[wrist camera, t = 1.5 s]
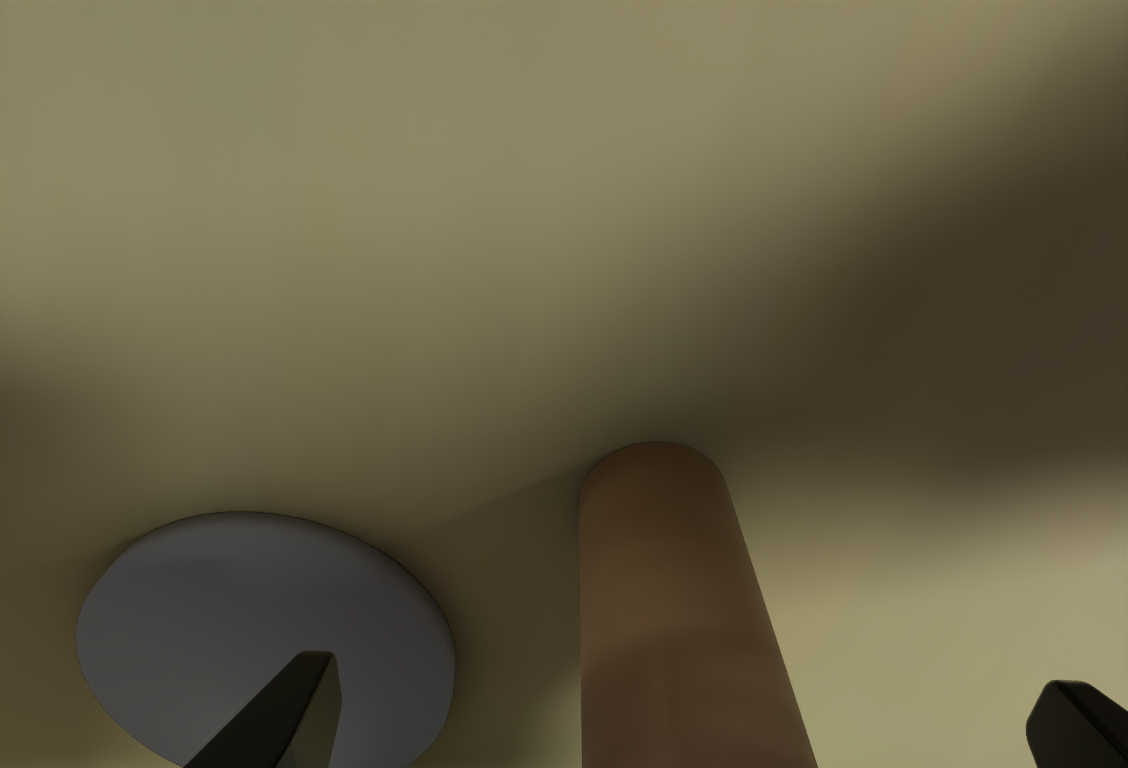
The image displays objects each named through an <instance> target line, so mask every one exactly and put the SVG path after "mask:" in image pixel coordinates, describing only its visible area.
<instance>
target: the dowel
mask: <svg viewBox="0 0 1128 768" xmlns="http://www.w3.org/2000/svg"><path fill="white" fill-rule="evenodd" d="M578 517H579V585H580V653H581V720H582V768H818V766H817V763H816V760H815V757H814V754H813V751H812V747H811V744H810V741H809V738H808V735H807V732H806V729H805V726H804V723H803V720H802V717H801V713H800V710H799V707H798V704H797V701H796V698H795V695H794V692H793V689H792V686H791V683H790V680H789V676H788V673H787V670H786V667H785V664H784V661H783V658H782V655H781V652H780V649H779V646H778V642H777V639H776V636H775V633H774V630H773V627H772V624H771V621H770V618H769V615H768V612H767V609H766V605H765V602H764V599H763V596H762V593H761V590H760V587H759V584H758V581H757V578H756V575H755V571H754V568H753V565H752V562H751V559H750V556H749V553H748V550H747V547H746V544H745V541H744V538H743V534H742V531H741V528H740V525H739V522H738V519H737V516H736V513H735V510H734V507H733V504H732V501H731V497H730V494H729V491H728V488H727V485H726V483H725V480H724V478H723V476H722V474H721V473H720V471H719V469H718V468H717V467H716V466H715V465H714V464H713V463H712V462H711V461H710V460H709V459H708V458H707V457H705V456H704V455H702V454H701V453H699V452H697V451H695V450H693V449H691V448H689V447H686V446H683V445H679V444H674V443H668V442H646V443H639V444H635V445H631V446H628V447H625V448H623V449H620V450H618V451H616V452H614V453H612V454H611V455H609V456H607V457H606V458H604V459H603V460H602V461H601V462H600V463H598V464H597V465H596V466H595V467H594V468H593V470H592V471H591V472H590V473H589V475H588V476H587V478H586V479H585V481H584V483H583V485H582V488H581V491H580V494H579V501H578Z"/></svg>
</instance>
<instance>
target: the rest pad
mask: <svg viewBox="0 0 1128 768" xmlns="http://www.w3.org/2000/svg"><path fill="white" fill-rule="evenodd" d="M76 647H77V656H78V659H79V663H80V666H81V670H82V673H83V675H84V677H85V679H86V681H87V684H88V686H89V688H90V690H91V691H92V693H93V694H94V696H95V697H96V699H97V700H98V702H99V703H100V705H101V706H102V707H103V708H104V709H105V711H106V712H107V713H108V714H109V715H110V716H111V718H112V719H113V720H114V721H115V722H116V723H117V724H119V725H120V726H121V727H122V728H123V729H124V730H125V731H126V732H127V733H128V734H129V735H131V736H132V737H133V738H135V739H136V740H137V741H139V742H140V743H141V744H143V745H144V746H145V747H147V748H149V749H150V750H152V751H153V752H155V753H157V754H158V755H160V756H161V757H163V758H165V759H167V760H169V761H171V762H173V763H175V764H177V765H179V766H181V767H184V766H185V765H186V764H187V763H188V762H189V761H190V760H191V759H192V758H193V757H194V756H195V755H196V754H197V753H198V752H199V751H200V750H201V749H202V748H203V747H204V746H205V745H206V744H207V743H208V742H209V741H210V740H211V739H212V738H213V737H214V736H215V735H216V734H217V733H218V732H219V731H220V730H221V729H222V728H223V727H224V726H225V725H226V724H227V723H228V722H229V721H230V720H231V719H232V718H233V717H234V716H235V715H236V714H237V713H238V712H239V711H240V710H241V709H242V708H243V707H244V706H245V705H246V704H247V703H248V702H249V701H250V700H251V699H252V698H253V697H254V696H255V695H256V694H257V693H258V692H259V691H260V690H261V689H262V688H263V687H264V686H265V685H266V684H267V683H268V682H270V681H271V680H272V679H273V678H274V677H275V676H276V675H277V674H278V673H279V672H280V671H281V670H282V669H283V668H284V667H285V666H286V665H287V664H288V663H289V662H290V661H291V660H292V659H293V658H294V657H295V656H296V655H297V654H298V653H300V652H302V651H306V650H312V651H330V652H333V653H334V655H335V656H336V659H337V666H338V673H339V680H340V687H341V694H342V706H341V713H340V718H339V723H338V727H337V732H336V736H335V741H334V745H333V750H332V754H331V759H330V763H329V768H405V767H406V766H407V765H409V764H410V763H411V762H413V761H414V760H416V759H417V758H418V757H420V756H421V755H422V754H423V753H424V752H425V751H426V750H427V749H428V748H429V747H430V746H431V744H432V743H433V742H434V740H435V739H436V737H437V736H438V735H439V733H440V732H441V729H442V727H443V725H444V723H445V721H446V719H447V716H448V712H449V708H450V704H451V699H452V693H453V688H454V682H455V674H456V655H455V647H454V642H453V639H452V636H451V632H450V629H449V627H448V625H447V623H446V621H445V619H444V616H443V614H442V612H441V610H440V609H439V608H438V606H437V605H436V603H435V602H434V600H433V599H432V598H431V596H430V595H429V593H428V592H427V591H426V590H425V589H424V588H423V587H422V586H421V585H420V584H419V582H418V581H417V580H416V579H415V578H414V577H413V576H412V575H410V574H409V573H408V572H407V571H406V570H405V569H403V568H402V567H401V566H400V565H399V564H398V563H396V562H395V561H393V560H392V559H390V558H389V557H387V556H386V555H384V554H383V553H382V552H380V551H379V550H377V549H375V548H373V547H372V546H370V545H368V544H366V543H364V542H362V541H360V540H358V539H357V538H355V537H352V536H350V535H348V534H345V533H343V532H340V531H338V530H335V529H333V528H331V527H327V526H324V525H321V524H317V523H314V522H311V521H307V520H304V519H299V518H294V517H288V516H283V515H278V514H268V513H257V512H224V513H215V514H207V515H200V516H196V517H192V518H187V519H183V520H179V521H176V522H173V523H171V524H168V525H166V526H163V527H161V528H158V529H156V530H154V531H152V532H150V533H149V534H147V535H145V536H143V537H142V538H140V539H138V540H137V541H136V542H134V543H133V544H132V545H131V546H129V547H128V548H127V549H126V550H124V551H123V552H122V553H121V554H120V556H119V557H118V558H117V559H116V560H115V561H114V562H113V564H112V565H111V566H110V567H109V568H108V570H107V571H106V572H105V573H104V574H103V576H102V577H101V578H100V579H99V581H98V582H97V583H96V584H95V585H94V587H93V588H92V589H91V591H90V593H89V594H88V596H87V598H86V600H85V601H84V603H83V605H82V608H81V611H80V614H79V618H78V621H77V630H76Z"/></svg>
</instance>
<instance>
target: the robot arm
mask: <svg viewBox="0 0 1128 768" xmlns="http://www.w3.org/2000/svg"><path fill="white" fill-rule="evenodd" d="M341 706H342V694H341V687H340V680H339V673H338V666H337V659H336V656H335V655H334V653H333V652H330V651H312V650H306V651H302V652H300V653H298V654H297V655H296V656H295V657H294V658H293V659H292V660H291V661H290V662H289V663H288V664H287V665H286V666H285V667H284V668H283V669H282V670H281V671H280V672H279V673H278V674H277V675H276V676H275V677H274V678H273V679H272V680H271V681H270V682H268V683H267V684H266V685H265V686H264V687H263V688H262V689H261V690H260V691H259V692H258V693H257V694H256V695H255V696H254V697H253V698H252V699H251V700H250V701H249V702H248V703H247V704H246V705H245V706H244V707H243V708H242V709H241V710H240V711H239V712H238V713H237V714H236V715H235V716H234V717H233V718H232V719H231V720H230V721H229V722H228V723H227V724H226V725H225V726H224V727H223V728H222V729H221V730H220V731H219V732H218V733H217V734H216V735H215V736H214V737H213V738H212V739H211V740H210V741H209V742H208V743H207V744H206V745H205V746H204V747H203V748H202V749H201V750H200V751H199V752H198V753H197V754H196V755H195V756H194V757H193V758H192V759H191V760H190V761H189V762H188V763H187V764H186V765H185V766H184V767H183V768H329V763H330V759H331V754H332V750H333V745H334V741H335V736H336V732H337V727H338V723H339V718H340V713H341ZM1026 736H1027V741H1028V744H1029V747H1030V750H1031V752H1032V755H1033V757H1034V760H1035V763H1036V765H1037V768H1128V711H1127V710H1125V709H1124V708H1123V707H1121V706H1120V705H1118V704H1117V703H1116V702H1114V701H1113V700H1111V699H1110V698H1109V697H1107V696H1106V695H1104V694H1103V693H1102V692H1100V691H1099V690H1097V689H1096V688H1095V687H1093V686H1092V685H1090V684H1088V683H1086V682H1082V681H1072V680H1052V681H1050V682H1048V683H1047V684H1046V685H1045V687H1044V688H1043V690H1042V692H1041V694H1040V696H1039V698H1038V700H1037V702H1036V704H1035V706H1034V708H1033V710H1032V712H1031V714H1030V715H1029V717H1028V720H1027V723H1026Z"/></svg>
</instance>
